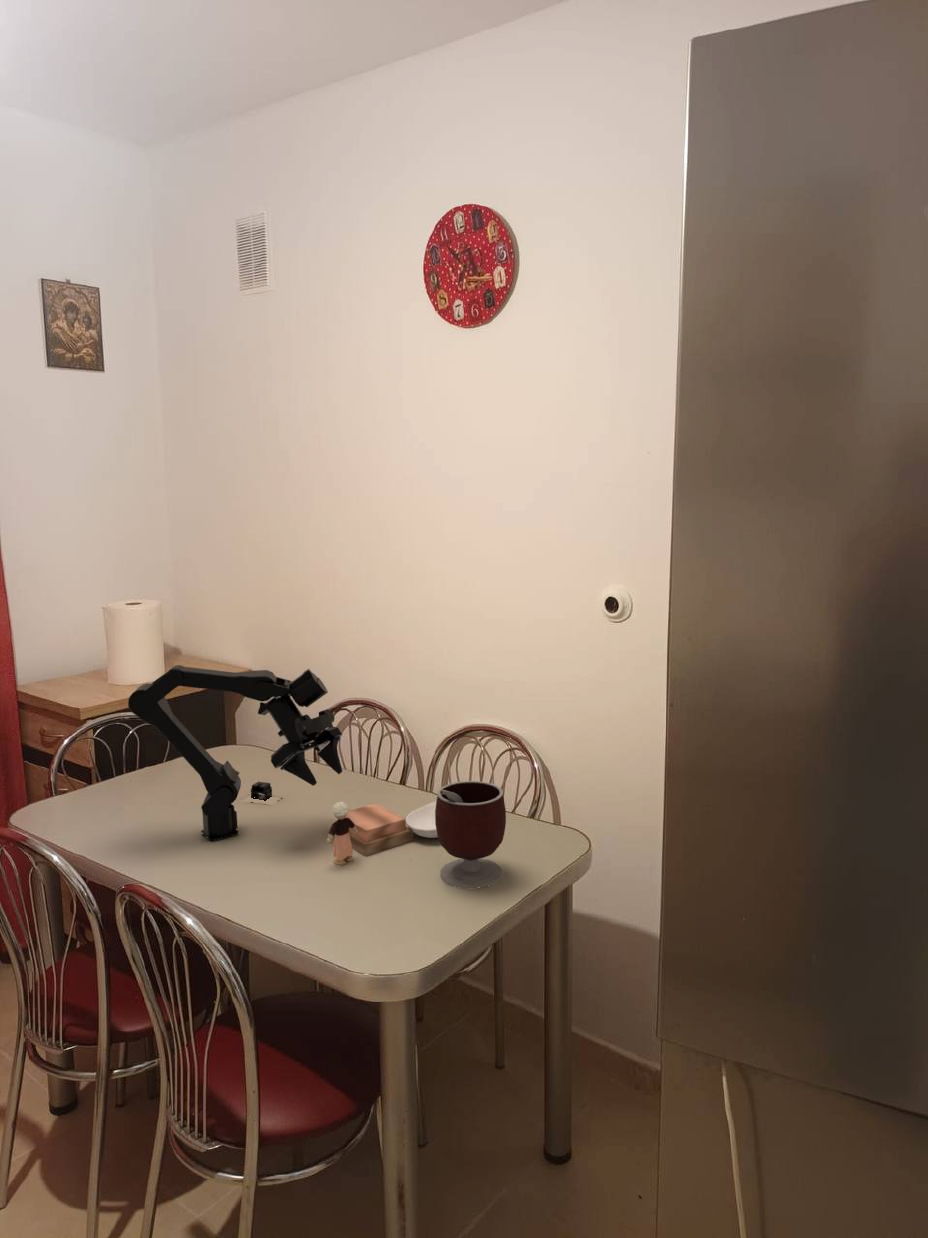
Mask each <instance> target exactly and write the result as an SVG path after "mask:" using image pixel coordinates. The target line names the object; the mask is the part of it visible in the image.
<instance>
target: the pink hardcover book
mask: <svg viewBox="0 0 928 1238" xmlns="http://www.w3.org/2000/svg"><path fill="white" fill-rule="evenodd" d="M345 818H349V819H350V820H351V821H352V822H353V823H354V824H355V826H356V829H357V830H358V832H357V833H353V830H351V828H349V835H350V840H351V845H352V850H355V851H357V852H358V853H359V854H361V855H363V856H364V857H367V856H370V855H373V854H374V855H375V854H376V853H379V852H382V851H386V850H388V849H389V850H390V849H392V848H395V847H398V846H400V845H405V844H407V843H411V842H413V841H414V840H413V831H412V830H411V829H410V828H409V827H408V826H407V825H406V817H404V816H401V815H399V814H398V813H396V812H393V811H392V810H389V809H388V808H386V807H384V806H382V805H380V804H378V803H376V802H375V803H372V804H369V805H365V806H362V807H358V808H354V809H351V810H350V809H349V810H348V813H347V815H346V817H345ZM333 838H335V835H334V836H333Z"/></svg>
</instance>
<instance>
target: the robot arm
mask: <svg viewBox="0 0 928 1238" xmlns="http://www.w3.org/2000/svg"><path fill="white" fill-rule="evenodd" d="M177 687H186V688H195V689H203V690H204V689H206V690H213V691H220V692H221V691H223V692H230V693H235V694H238V695H240V696H242V697H243V698H247V699H250V700H254V701H258V702H259V708H258V709H257V714H258V715H260V716H266V715H267V714H269V715H270V716H271V718H272V720H273V721H274V723H275V724H276V726H277V727H278V729H279V731H278V732H277V735H278V736H279V738H281V737H284V738H285V740H286V741H287V743H284V744H282V745H281V746H280V747H279V748H278V749H276V751H275V752H273V753H272V754H271V755H270V762H271V764H272V766H273V768H275V769H279V768H280V770H281V771H285V772H288V773H290V774H292V775H294V776H296V777H298V778H299V779H301V780H302V781H305V782H306V783H307V784H310V785H311V786H312V787H313V786H316V785H317V783H318V781H317V780H316V778H315V776H314V774H313V772H312V770H311V768H310V767H309V765H308V764H307V762H306V758H305V757H306V754H305V753H306V752H307V751H309V750H312V749H314V750H315V751H316V752H317V756H318V757H320V758H321V759H322V760H323V762H325V764H326V765H328V766H329V768H331V769H332V770H333V771H334V772H336V774H338V775H340V774H342V773H343V768H342V764H341V761H340V756H339V752H338V751H339V750H338V745H339V741H340V740H341V736H343V733H342V732H341V730H340V729H339V727H337V726H334V725H333V723H334V722H335V716H334V714H333V712H331V710H330V709H329V708H327V709H324V710H321V711H319V712H318V716H316V717H313V718H311V716H310V715H308V714H304V715H303V714H302V713H301V711H300V709H299V708H298V707H301V708H304V707H305V708H309V707H310V706H311V705H313V704H314V703H315V702H318V701H319V699H321V698H323V697H324V696H325V695H327V694H328V693H329V692H328V689H327V687H326V686H325V683H323V681H322V680H321V679H320V677H318V676H317V675H316V674H315V673H313V672H312V670H311V669H310V668H307V669H306V670H304V671H303V673H302V674H301V675H299V676H298V677H296V678H295V679H293V680H289V679H286V678H282V677H278V676H276V675H275V673H274V671H271V670H269V669H262V670H261V669H260V670H258V669H257V670H248V671H241V672H233V671H225V670H215V669H207V668H206V669H205V668H200V667H190V666H183V665H181V664H176V665H173V666H172V667H171V668H169V670H168V671H166V672H165V673H163V674H162V675H161V676H159V677H158V678H156V679H155V680H154V681H152V682H151V683H143V684H141V685H139V687H138V688H136V689H135V690H134V691H133V692H132V693H131V695H130V696H129V698H128V702H127V704H128V705H127V707H128V708H129V710H130V712H131V713H132V714H134V715H135V716H136V717H137V718H139V720H141V721H143V722H144V723H146V724H148V725H150V726H152V727H154V728H155V729H157V730H158V731H159V732H160V734H162V736H163V737H164V738H165V739H166V740H167V741H168V742H169V743H170V744H171V745H172V746H173V747H174V748H175V750H176V751H177V752H178V753H179V754H180V755H181V756H182V758H183V759H184V760H185V761H186V762H187V763H188V764H189V765H190V766H191V768H193V770H194V771H195V772H196V773H197V774H198V775H199V776H200V778H201V782H202V783H203V785H204V787H205V790H206V791H207V794H206V795H205V797H204V801H203V803H202V804H201V812H202V813H201V814H202V824H203V826H202V828H203V829H202V830H200V833H201V832H202V833H203V834H204V835H205V836H206V837H208V838H209V839H210V840H211V841H210V840H209V839H208V838H207V839H208V840H209V841H210V842H215V841H218V839H219V840H222V839H221V838H223V839H226V838H230V837H233V836H232V835H234V836H237V835H239V834H240V832H239V830H238V825H239V824H238V812H237V811H236V810H235V805H233V803H234V802H235V801H236V800H237V798H238V795H239V793H240V790H241V786H242V781H241V778H240V776H239V775H240V772H239V771H237V770H236V769H235V768H233V766H232V764H231V763H230V761H229V760H226V761H225V762H224V763H223V764H222V763H220V762H219V761H216V760H215V758H213V757H212V755H211V754H210V752H208V751H207V750H206V749H205V747H204V746H203V745H202V744H201V743H200V742H199V741H198V739H196V738H195V737H194V736H193V734H191V732H190V731H189V730H188V729H187V727H185V725H183V723H182V722H181V721H180V719H178V718H177V717H176V716H175V714H174V712H172V709H171V706H170V703H169V702H168V700H167V698H166V696H167V695H168V694H170V693H171V692H172V691H174V690H175V689H176V688H177ZM297 705H298V707H297ZM202 833H201V834H202ZM238 833H239V834H238ZM203 834H202V835H203ZM236 834H237V835H236ZM204 835H203V836H204ZM205 836H204V837H205ZM229 836H230V837H229ZM206 837H205V838H206ZM225 837H226V838H225ZM214 840H215V841H214Z"/></svg>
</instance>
